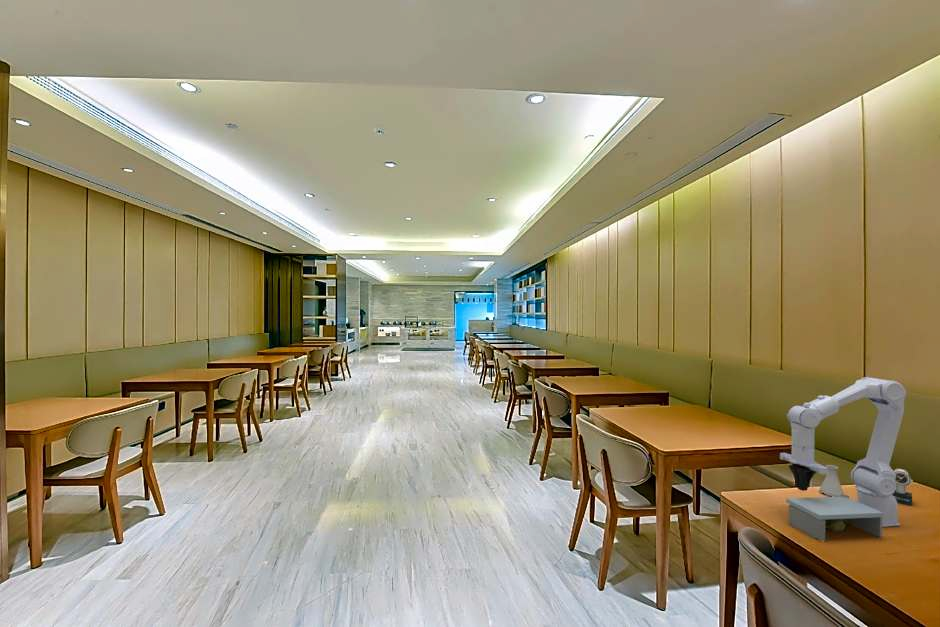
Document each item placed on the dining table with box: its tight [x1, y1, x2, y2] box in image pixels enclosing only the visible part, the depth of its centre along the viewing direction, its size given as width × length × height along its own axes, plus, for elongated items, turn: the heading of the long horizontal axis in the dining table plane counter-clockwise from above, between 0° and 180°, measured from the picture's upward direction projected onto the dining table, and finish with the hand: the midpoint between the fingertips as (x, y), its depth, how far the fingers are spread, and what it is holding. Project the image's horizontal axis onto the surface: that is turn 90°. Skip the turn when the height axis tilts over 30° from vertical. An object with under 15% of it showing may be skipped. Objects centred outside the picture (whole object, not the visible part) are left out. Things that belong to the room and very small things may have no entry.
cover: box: [785, 494, 884, 520], centre depth 133 cm, size 21×13×1 cm, turn 97°
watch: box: [892, 468, 914, 507], centre depth 154 cm, size 6×8×11 cm
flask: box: [818, 464, 845, 497], centre depth 160 cm, size 7×7×10 cm
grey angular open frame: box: [788, 504, 883, 542], centre depth 132 cm, size 20×11×6 cm, turn 100°
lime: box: [824, 519, 846, 533], centre depth 132 cm, size 4×5×5 cm
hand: (802, 489), depth 139 cm, fingers closed
